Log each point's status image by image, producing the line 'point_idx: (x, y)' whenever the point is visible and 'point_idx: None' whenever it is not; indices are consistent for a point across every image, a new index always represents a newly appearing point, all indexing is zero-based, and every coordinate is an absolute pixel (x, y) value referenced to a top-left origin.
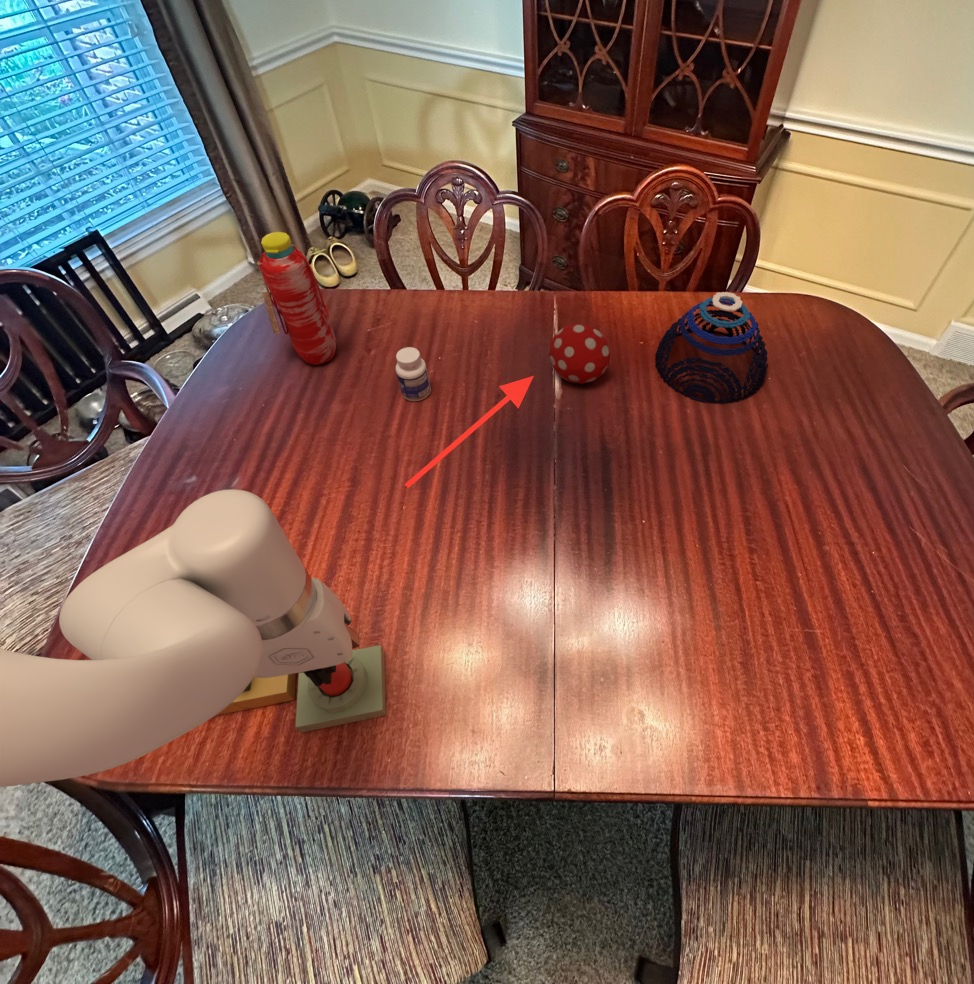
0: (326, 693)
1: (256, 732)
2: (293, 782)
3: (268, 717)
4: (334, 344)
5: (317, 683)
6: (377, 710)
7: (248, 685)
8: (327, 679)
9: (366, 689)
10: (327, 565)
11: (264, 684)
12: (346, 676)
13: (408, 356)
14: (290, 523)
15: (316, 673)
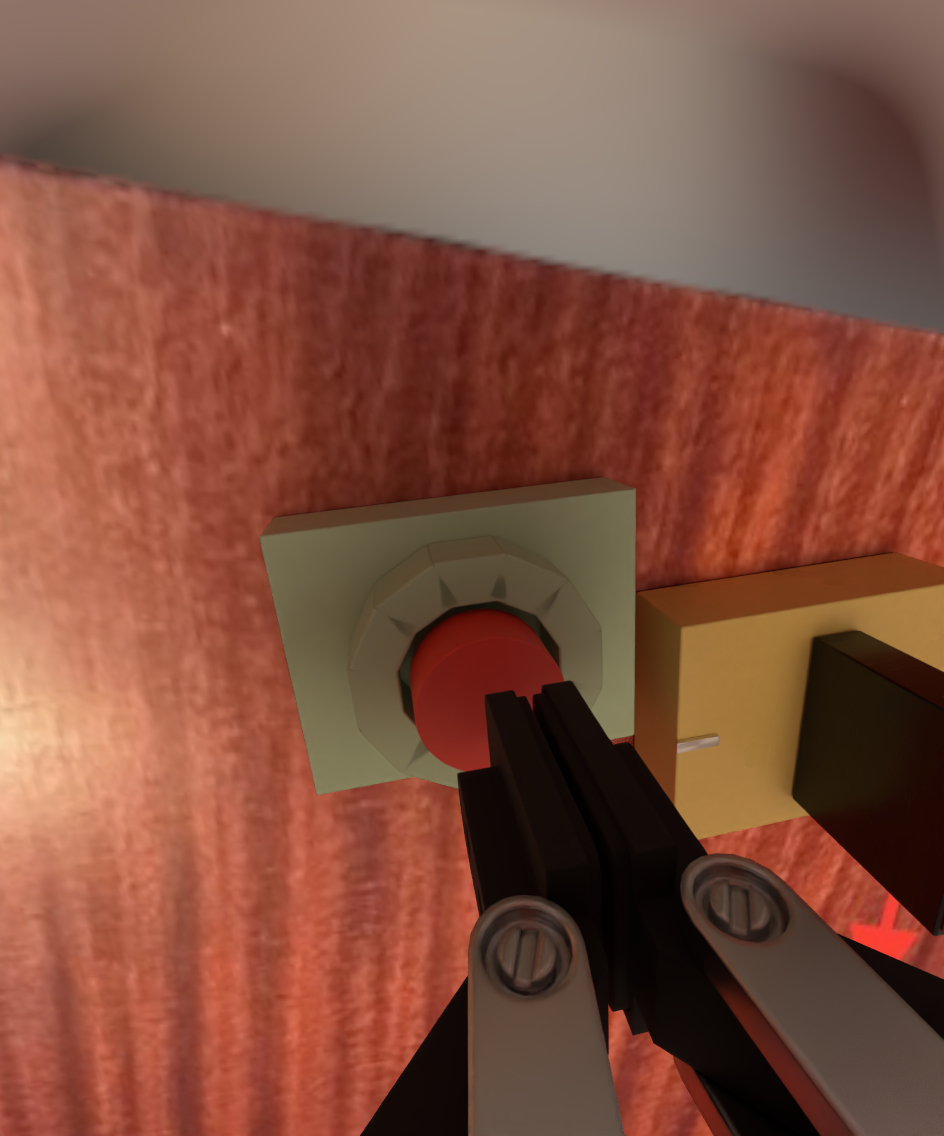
0: (517, 620)
1: (755, 490)
2: (620, 289)
3: (718, 538)
4: None
5: (566, 706)
6: (281, 534)
7: (830, 659)
8: (500, 740)
9: (349, 625)
10: None
11: (762, 657)
12: (421, 703)
13: None
14: (676, 1079)
15: (585, 829)
